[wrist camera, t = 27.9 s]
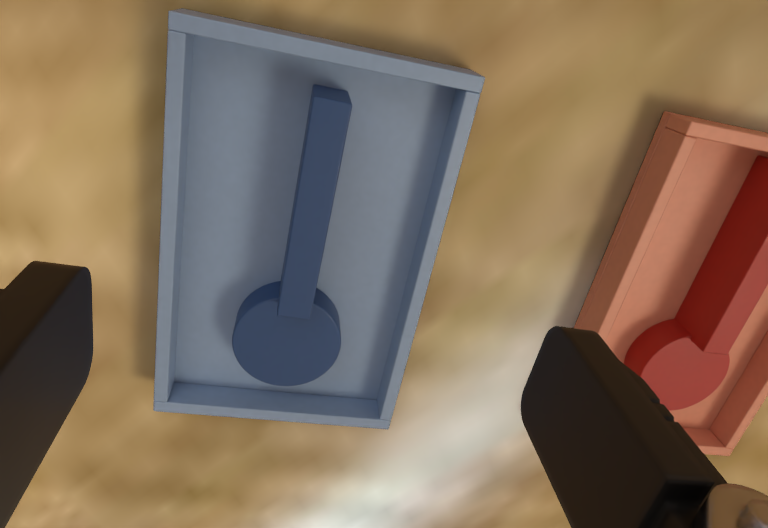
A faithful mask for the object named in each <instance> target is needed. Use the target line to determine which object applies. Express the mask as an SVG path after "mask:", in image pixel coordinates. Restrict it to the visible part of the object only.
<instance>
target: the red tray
mask: <svg viewBox="0 0 768 528" xmlns="http://www.w3.org/2000/svg"><path fill="white" fill-rule="evenodd" d="M758 155H761V156H766V157H768V133H766V132H761V131H756V130H752V129H747V128H742V127H737V126H733V125H728V124H723V123H719V122H714V121H709V120H705V119H700V118H695V117H691V116H686V115H681V114H676V113H672V112H667V111H665V112H664V113H663V115H662V118H661V120H660V122H659V125H658V127H657V130H656V132H655V134H654V137H653V139H652V142H651V144H650V146H649V149H648V151H647V154H646V156H645V158H644V161H643V163H642V166H641V168H640V170H639V173H638V175H637V178H636V180H635V182H634V185H633V187H632V190H631V192H630V194H629V197H628V199H627V202H626V204H625V206H624V209H623V211H622V214H621V216H620V218H619V221H618V223H617V226H616V228H615V230H614V233H613V235H612V237H611V240H610V242H609V245H608V247H607V249H606V252H605V254H604V257H603V259H602V261H601V264H600V266H599V269H598V271H597V273H596V276H595V278H594V281H593V283H592V285H591V288H590V290H589V293H588V295H587V297H586V300H585V302H584V305H583V307H582V309H581V312H580V314H579V317H578V319H577V321H576V324H575V326H574V328H575V329H583V330H591V331H595V332H597V333H598V334H599V335H600V336H601V338H602V339H603V340H604V342H605V343H606V344H607V345H608V347H609V348H610V349H611V350H612V352H613V353H614V354H615V356H616V357H617V358H618V359H619V360H620V361H621V362H622V363H623V364H624V360H625V356H626V354H627V351H628V349H629V348H630V346H631V345H632V343H633V342H634V341H635V339H636V338H637V337H638V336H639V335H640V334H642V333H643V332H644V331H645V330H647V329H648V328H650V327H651V326H653V325H655V324H657V323H660V322H662V321H665V320H669V319H674V318H675V316H676V314H677V312H678V310H679V308H680V306H681V304H682V302H683V300H684V299H685V297H686V295H687V293H688V291H689V289H690V287H691V285H692V283H693V281H694V279H695V277H696V275H697V273H698V271H699V269H700V267H701V265H702V263H703V261H704V259H705V257H706V255H707V253H708V251H709V250H710V248H711V246H712V244H713V242H714V240H715V238H716V236H717V234H718V232H719V230H720V228H721V226H722V224H723V222H724V220H725V218H726V216H727V214H728V212H729V210H730V208H731V206H732V204H733V202H734V201H735V199H736V197H737V195H738V193H739V191H740V189H741V187H742V185H743V183H744V181H745V179H746V177H747V175H748V173H749V171H750V169H751V167H752V165H753V163H754V161H755V159H756V157H757V156H758ZM729 358H730V363H729V369H728V371H727V374H726V376H725V378H724V380H723V381H722V383H721V384H720V385H719V387H718V388H717V389H716V390H715V391H714V392H713V393H712V394H710V395H709V396H708V397H707V398H705V399H704V400H702V401H700V402H699V403H697V404H695V405H692V406H690V407H687V408H684V409H679V410H671V411H670V413H671V414H672V415H673V416H674V422H678V423H679V424H680V425H681V426H682V428H683V429H684V430H685V431H686V432H687V434H688V435H689V436H690V437H691V439H692V440H693V441H694V442H695V444H696V445H697V446H698V447H699V449H700V450H701V451H702V452H703V454H711V455H724V456H729V455H730V454H731V452H732V451H733V448H735V446H736V445H737V443H738V441H739V440H740V438H741V437H742V435H743V433H744V432H745V430H746V429H747V427H748V426H749V424H750V422H751V421H752V419H753V418H754V416H755V414H756V413H757V411H758V410H759V408H760V407H761V405H762V403H763V402H764V400H765V399H766V397H767V396H768V285H767V287H766V289H765V290H764V292H763V294H762V296H761V297H760V299H759V301H758V302H757V304H756V306H755V308H754V309H753V311H752V313H751V315H750V316H749V318H748V320H747V322H746V323H745V325H744V327H743V329H742V330H741V332H740V334H739V335H738V337H737V339H736V341H735V342H734V344H733V346H732V348H731V349H730V351H729Z"/></svg>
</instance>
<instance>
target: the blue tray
mask: <svg viewBox="0 0 768 528" xmlns="http://www.w3.org/2000/svg"><path fill="white" fill-rule="evenodd" d="M168 29H169V30H168V41H167V68H166V94H165V120H164V146H163V173H162V199H161V225H160V251H159V277H158V304H157V330H156V356H155V382H154V411H160V412H173V413H186V414H199V415H212V416H224V417H237V418H250V419H263V420H276V421H288V422H301V423H314V424H327V425H340V426H352V427H365V428H378V429H389V426H390V422H391V418H392V415H393V411H394V407H395V404H396V400H397V396H398V393H399V389H400V385H401V382H402V378H403V375H404V371H405V367H406V364H407V360H408V356H409V353H410V349H411V345H412V342H413V338H414V334H415V331H416V327H417V323H418V320H419V316H420V313H421V309H422V305H423V302H424V298H425V294H426V291H427V287H428V283H429V280H430V276H431V272H432V269H433V265H434V261H435V258H436V254H437V251H438V247H439V243H440V240H441V236H442V232H443V229H444V225H445V221H446V218H447V214H448V210H449V207H450V203H451V200H452V196H453V192H454V189H455V185H456V181H457V178H458V174H459V170H460V167H461V163H462V159H463V156H464V152H465V148H466V145H467V141H468V138H469V134H470V130H471V127H472V123H473V119H474V116H475V112H476V108H477V105H478V101H479V97H480V94H479V93H481V91H482V87H483V84H484V80H485V77H483V76H481V75H480V74H478V73H476V72H474V71H472V70H470V69H465V68H460V67H456V66H451V65H446V64H442V63H437V62H432V61H427V60H423V59H418V58H413V57H409V56H404V55H399V54H395V53H390V52H385V51H381V50H376V49H371V48H366V47H362V46H357V45H352V44H348V43H343V42H338V41H334V40H329V39H324V38H319V37H315V36H310V35H305V34H301V33H296V32H291V31H287V30H282V29H277V28H272V27H268V26H263V25H258V24H254V23H249V22H244V21H240V20H235V19H230V18H225V17H221V16H216V15H211V14H207V13H202V12H197V11H193V10H188V9H183V8H181V9H176V10H171V11H169V14H168ZM314 84H317V85H322V86H326V87H331V88H335V89H340V90H345V91H348V93H349V96H350V99H351V102H352V111H351V116H350V121H349V126H348V131H347V136H346V141H345V146H344V151H343V156H342V161H341V166H340V172H339V177H338V182H337V187H336V192H335V197H334V202H333V207H332V212H331V217H330V222H329V227H328V232H327V237H326V242H325V247H324V253H323V258H322V263H321V268H320V273H319V278H318V283H317V289H319V290H321V291H322V292H323V293H325V294H326V295H327V296H328V297H329V298H330V299H331V301H332V302H333V303H334V305H335V307H336V309H337V311H338V314H339V320H340V331H341V348H340V352H339V355H338V357H337V359H336V361H335V362H334V364H333V365H332V367H331V368H330V369H329V370H328V371H327V372H326V373H324V374H323V375H322V376H320V377H319V378H317V379H315V380H313V381H311V382H308V383H305V384H301V385H296V386H277V385H271V384H268V383H265V382H262V381H260V380H258V379H256V378H254V377H253V376H251V375H250V374H248V373H247V372H246V371H245V370H244V369H243V368H242V367H241V365H240V364H239V362H238V361H237V359H236V357H235V355H234V351H233V347H232V335H233V330H234V326H235V322H236V317H237V313H238V310H239V308H240V306H241V304H242V303H243V301H244V300H245V299H246V298H247V297H248V296H249V295H250V294H251V293H252V292H254V291H255V290H256V289H258V288H260V287H262V286H264V285H266V284H269V283H273V282H277V281H281V275H282V269H283V263H284V257H285V251H286V245H287V239H288V233H289V226H290V220H291V214H292V208H293V202H294V196H295V190H296V184H297V178H298V172H299V166H300V160H301V154H302V148H303V142H304V136H305V130H306V123H307V117H308V111H309V105H310V99H311V93H312V87H313V85H314Z"/></svg>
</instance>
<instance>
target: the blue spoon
mask: <svg viewBox="0 0 768 528" xmlns="http://www.w3.org/2000/svg"><path fill="white" fill-rule="evenodd" d="M351 111H352V102H351V99H350V96H349V93H348V91H345V90H340V89H335V88H331V87H326V86H322V85H317V84H314V85H313V87H312V93H311V99H310V105H309V111H308V117H307V123H306V130H305V136H304V142H303V148H302V154H301V160H300V166H299V172H298V178H297V184H296V190H295V196H294V202H293V208H292V214H291V220H290V226H289V233H288V239H287V245H286V251H285V257H284V263H283V269H282V275H281V281H277V282H273V283H269V284H266V285H264V286H262V287H260V288H258V289H256V290H255V291H254V292H252V293H251V294H250V295H249V296H248V297H247V298H246V299H245V300H244V301H243V303H242V304H241V306H240V308H239V310H238V313H237V317H236V322H235V326H234V330H233V335H232V347H233V351H234V355H235V357H236V359H237V361H238V362H239V364H240V365H241V367H242V368H243V369H244V370H245V371H246V372H247V373H248V374H250V375H251V376H253V377H254V378H256V379H258V380H260V381H262V382H265V383H268V384H271V385H277V386H296V385H301V384H305V383H308V382H311V381H313V380H315V379H317V378H319V377H320V376H322V375H323V374H324V373H326V372H327V371H328V370H329V369H330V368H331V367H332V365H333V364H334V362H335V361H336V359H337V357H338V355H339V352H340V348H341V331H340V320H339V314H338V311H337V309H336V307H335V305H334V303H333V302H332V301H331V299H330V298H329V297H328V296H327V295H326V294H325V293H323V292H322V291H321V290H319V289H317V283H318V278H319V273H320V268H321V263H322V258H323V253H324V247H325V242H326V237H327V232H328V227H329V222H330V217H331V212H332V207H333V202H334V197H335V192H336V187H337V182H338V177H339V172H340V166H341V161H342V156H343V151H344V146H345V141H346V136H347V131H348V126H349V121H350V116H351Z"/></svg>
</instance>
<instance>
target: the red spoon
mask: <svg viewBox="0 0 768 528" xmlns="http://www.w3.org/2000/svg"><path fill="white" fill-rule="evenodd" d="M767 285H768V157H766V156H761V155H758V156H757V157H756V159H755V161H754V163H753V165H752V167H751V169H750V171H749V173H748V175H747V177H746V179H745V181H744V183H743V185H742V187H741V189H740V191H739V193H738V195H737V197H736V199H735V201H734V202H733V204H732V206H731V208H730V210H729V212H728V214H727V216H726V218H725V220H724V222H723V224H722V226H721V228H720V230H719V232H718V234H717V236H716V238H715V240H714V242H713V244H712V246H711V248H710V250H709V251H708V253H707V255H706V257H705V259H704V261H703V263H702V265H701V267H700V269H699V271H698V273H697V275H696V277H695V279H694V281H693V283H692V285H691V287H690V289H689V291H688V293H687V295H686V297H685V299H684V300H683V302H682V304H681V306H680V308H679V310H678V312H677V314H676V316H675V318H674V319H669V320H665V321H662V322H660V323H657V324H655V325H653V326H651V327H650V328H648V329H647V330H645V331H644V332H643V333H642V334H640V335H639V336H638V337H637V338H636V339H635V341H634V342H633V343H632V345H631V346H630V348H629V349H628V351H627V354H626V356H625V360H624V364H625V365H626V366H627V367H629V368H630V369H631V370H632V371H634V372H635V373H636V374H637V375H639V376H640V377H641V378H643V379H644V380H645V382H646V383H647V384H648V385H649V387H650V388H651V389H652V390H653V392H654V393H655V394H656V395H657V397H658V398H659V399H660V404H664V405H665V406H666V408H667V409H668V410H669V411H671V410H679V409H684V408H687V407H690V406H692V405H695V404H697V403H699V402H700V401H702V400H704V399H705V398H707V397H708V396H709V395H710V394H712V393H713V392H714V391H715V390H716V389H717V388H718V387H719V385H720V384H721V383H722V381H723V380H724V378H725V376H726V374H727V371H728V369H729V363H730V358H729V351H730V349H731V348H732V346H733V344H734V342H735V341H736V339H737V337H738V335H739V334H740V332H741V330H742V329H743V327H744V325H745V323H746V322H747V320H748V318H749V316H750V315H751V313H752V311H753V309H754V308H755V306H756V304H757V302H758V301H759V299H760V297H761V296H762V294H763V292H764V290H765V289H766V287H767Z"/></svg>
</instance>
